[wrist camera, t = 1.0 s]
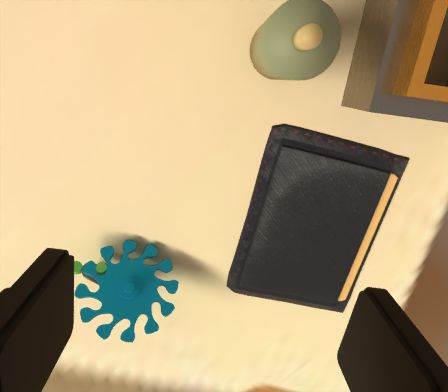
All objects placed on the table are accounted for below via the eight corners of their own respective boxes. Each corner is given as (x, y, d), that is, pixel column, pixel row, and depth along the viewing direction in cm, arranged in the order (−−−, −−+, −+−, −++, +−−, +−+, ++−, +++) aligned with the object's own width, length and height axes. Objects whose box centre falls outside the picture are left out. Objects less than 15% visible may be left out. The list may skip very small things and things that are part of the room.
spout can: (254, 15, 29) (277, -19, 19) (310, 24, 30) (362, -5, 19) (246, 75, 31) (262, 74, 21) (298, 82, 31) (341, 85, 21)
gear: (196, 267, 36) (147, 362, 31) (186, 277, 41) (143, 360, 36) (103, 216, 35) (39, 305, 30) (105, 233, 40) (51, 311, 35)
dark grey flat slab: (276, 120, 31) (422, 161, 33) (273, 118, 33) (411, 157, 35) (220, 295, 37) (345, 322, 39) (219, 285, 39) (339, 312, 41)
